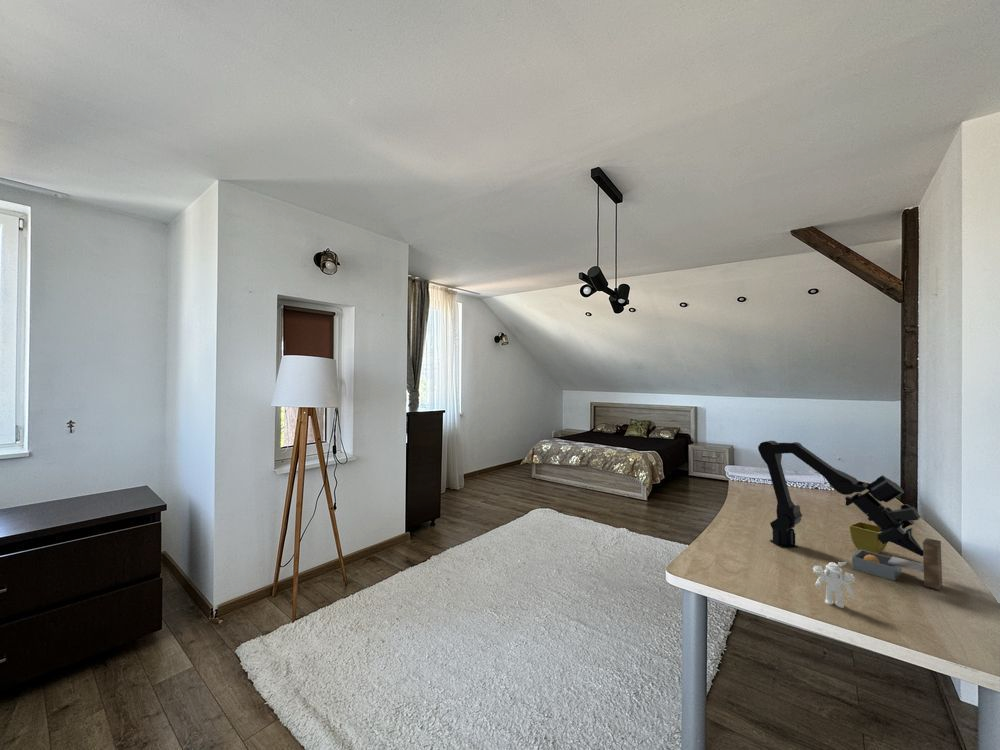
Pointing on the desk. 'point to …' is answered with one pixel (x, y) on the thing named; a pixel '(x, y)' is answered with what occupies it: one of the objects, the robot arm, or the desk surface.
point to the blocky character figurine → (834, 582)
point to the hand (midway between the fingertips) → (923, 555)
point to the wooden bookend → (926, 563)
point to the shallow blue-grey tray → (875, 565)
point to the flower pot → (866, 537)
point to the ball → (872, 558)
